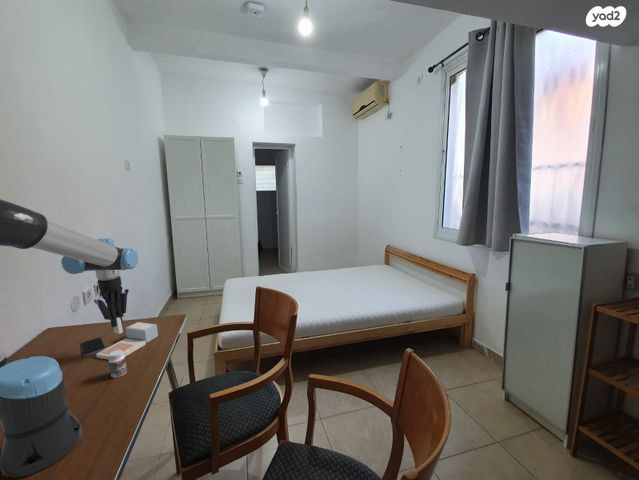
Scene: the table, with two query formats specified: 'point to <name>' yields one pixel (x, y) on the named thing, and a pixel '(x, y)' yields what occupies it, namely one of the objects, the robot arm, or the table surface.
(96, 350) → the smartphone
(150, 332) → the blue framed panel box
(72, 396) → the table surface
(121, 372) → the pill bottle
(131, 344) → the board
